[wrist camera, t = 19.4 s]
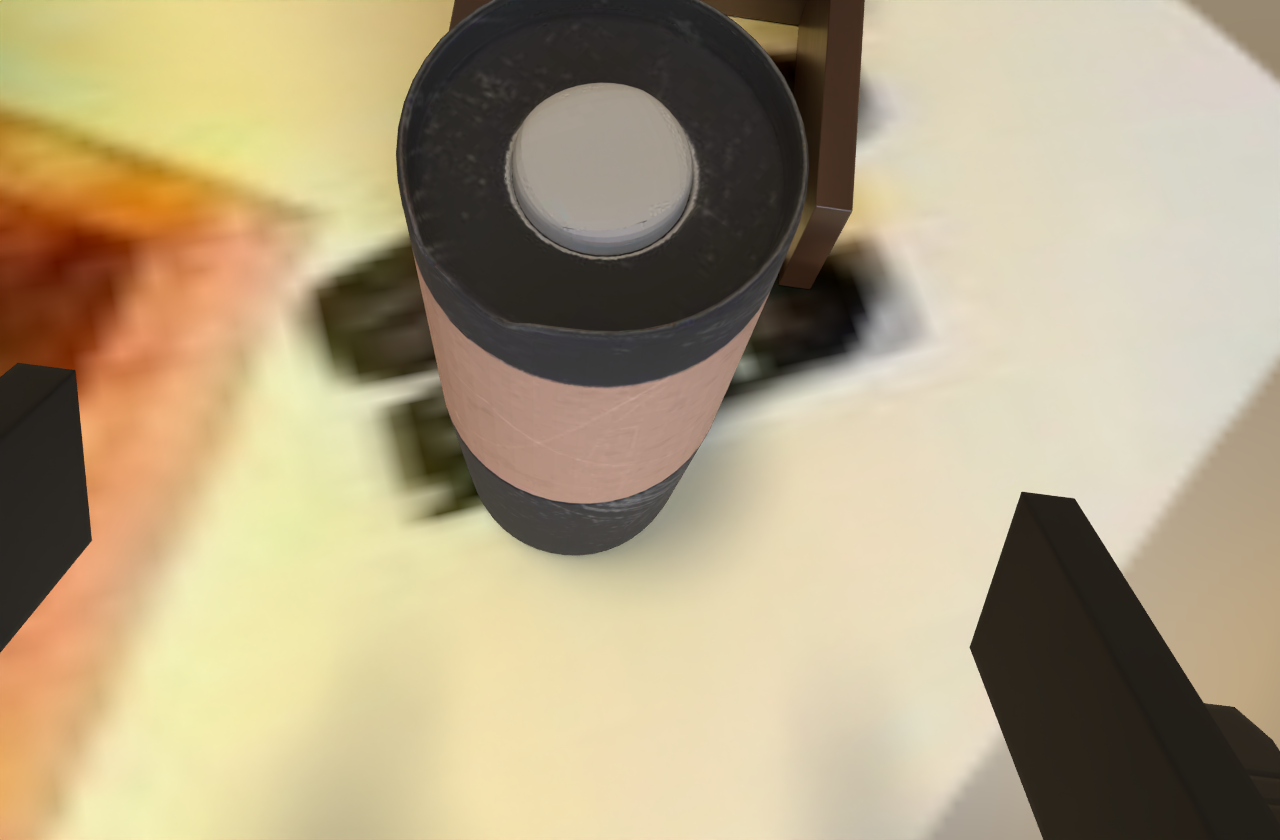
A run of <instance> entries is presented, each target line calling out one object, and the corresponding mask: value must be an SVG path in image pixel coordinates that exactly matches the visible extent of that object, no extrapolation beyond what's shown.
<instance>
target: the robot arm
mask: <svg viewBox="0 0 1280 840" xmlns="http://www.w3.org/2000/svg"><path fill="white" fill-rule="evenodd" d="M91 541H92V538H91V527H90V517H89V506H88V496H87V486H86V475H85V465H84V454H83V444H82V434H81V423H80V413H79V403H78V392H77V382H76V371H75V370H69V369H62V368H54V367H46V366H38V365H30V364H23V363H17V364H16V365H15V366H13V367H12V368H11V369H10V370H8V371H7V372H6V373H5V374H4V375H2V376H1V377H0V652H1V651H2V650H3V649H4V648H5V646H6V645H7V644H8V643H9V641H10V640H11V639H12V638H13V637H14V635H15V634H16V633H17V632H18V630H19V629H20V628H21V627H22V625H23V624H24V623H25V622H26V621H27V619H28V618H29V617H30V616H31V614H32V613H33V612H34V611H35V610H36V608H37V607H38V606H39V605H40V603H41V602H42V601H43V600H44V599H45V597H46V596H47V595H48V594H49V592H50V591H51V590H52V589H53V588H54V586H55V585H56V584H57V583H58V581H59V580H60V579H61V578H62V576H63V575H64V574H65V573H66V572H67V570H68V569H69V568H70V567H71V565H72V564H73V563H74V562H75V561H76V559H77V558H78V557H79V556H80V554H81V553H82V552H83V551H84V550H85V548H86V547H87V546H88V545H89V543H90V542H91ZM970 649H971V652H972V655H973V657H974V660H975V663H976V665H977V668H978V670H979V673H980V676H981V678H982V681H983V683H984V686H985V689H986V691H987V694H988V696H989V699H990V702H991V704H992V707H993V709H994V712H995V715H996V717H997V720H998V723H999V725H1000V728H1001V730H1002V733H1003V736H1004V738H1005V741H1006V743H1007V746H1008V749H1009V751H1010V754H1011V756H1012V759H1013V762H1014V764H1015V767H1016V770H1017V772H1018V775H1019V777H1020V780H1021V783H1022V785H1023V788H1024V790H1025V793H1026V796H1027V798H1028V801H1029V803H1030V806H1031V809H1032V811H1033V814H1034V817H1035V819H1036V821H1037V824H1038V827H1039V829H1040V832H1041V835H1042V837H1043V840H1280V751H1279V749H1278V748H1277V746H1276V745H1275V743H1274V742H1273V740H1272V739H1271V738H1270V737H1268V736H1267V735H1266V734H1265V733H1264V732H1263V731H1262V730H1260V729H1259V728H1258V727H1257V726H1256V725H1255V724H1253V723H1252V722H1251V721H1250V720H1249V719H1248V718H1246V717H1245V716H1244V715H1243V714H1242V713H1241V712H1240V711H1238V710H1237V709H1236V708H1235V707H1230V706H1222V705H1213V704H1205V703H1203V702H1202V700H1201V698H1200V697H1199V695H1198V694H1197V692H1196V691H1195V689H1194V687H1193V686H1192V684H1191V682H1190V681H1189V679H1188V678H1187V676H1186V674H1185V673H1184V671H1183V670H1182V668H1181V667H1180V665H1179V663H1178V662H1177V661H1176V659H1175V657H1174V655H1173V654H1172V652H1171V651H1170V649H1169V647H1168V646H1167V644H1166V643H1165V641H1164V640H1163V638H1162V636H1161V635H1160V633H1159V632H1158V630H1157V629H1156V627H1155V625H1154V624H1153V622H1152V621H1151V619H1150V617H1149V616H1148V614H1147V613H1146V611H1145V609H1144V608H1143V606H1142V605H1141V603H1140V601H1139V600H1138V598H1137V597H1136V595H1135V594H1134V592H1133V590H1132V589H1131V587H1130V586H1129V584H1128V582H1127V581H1126V579H1125V578H1124V576H1123V574H1122V573H1121V571H1120V570H1119V568H1118V567H1117V565H1116V563H1115V562H1114V560H1113V559H1112V557H1111V555H1110V554H1109V552H1108V551H1107V549H1106V547H1105V546H1104V544H1103V543H1102V541H1101V540H1100V538H1099V536H1098V535H1097V533H1096V532H1095V530H1094V528H1093V527H1092V525H1091V524H1090V522H1089V521H1088V519H1087V517H1086V516H1085V514H1084V513H1083V511H1082V509H1081V508H1080V506H1079V505H1078V503H1077V501H1076V500H1075V499H1074V498H1066V497H1058V496H1050V495H1043V494H1035V493H1027V492H1021V495H1020V498H1019V501H1018V504H1017V507H1016V510H1015V513H1014V516H1013V519H1012V522H1011V525H1010V528H1009V531H1008V534H1007V537H1006V540H1005V543H1004V546H1003V549H1002V552H1001V555H1000V558H999V561H998V564H997V567H996V570H995V573H994V576H993V579H992V582H991V585H990V588H989V591H988V594H987V597H986V600H985V603H984V606H983V609H982V612H981V615H980V618H979V621H978V624H977V627H976V630H975V633H974V636H973V639H972V642H971V645H970Z"/></svg>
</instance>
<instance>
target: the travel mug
mask: <svg viewBox="0 0 1280 840" xmlns="http://www.w3.org/2000/svg"><path fill="white" fill-rule="evenodd" d="M396 160H397V176H398V184H399V190H400V195H401V200H402V206H403V210H404V213H405V217H406V222H407V227H408V231H409V236H410V240H411V245H412V250H413V254H414V259H415V264H416V268H417V273H418V278H419V282H420V287H421V292H422V296H423V301H424V306H425V310H426V315H427V320H428V324H429V329H430V333H431V338H432V343H433V347H434V352H435V357H436V361H437V366H438V371H439V375H440V380H441V385H442V389H443V394H444V398H445V403H446V406H447V410H448V412H449V415H450V418H451V421H452V424H453V427H454V430H455V432H456V435H457V438H458V441H459V444H460V447H461V450H462V452H463V455H464V458H465V461H466V464H467V467H468V470H469V472H470V475H471V478H472V480H473V483H474V486H475V488H476V490H477V493H478V495H479V497H480V498H481V500H482V502H483V504H484V506H485V507H486V509H487V510H488V511H489V513H490V514H491V516H492V517H493V518H494V519H495V520H496V521H497V522H498V523H499V524H500V525H501V527H502V528H504V529H505V530H506V531H507V532H509V533H510V534H511V535H512V536H514V537H515V538H517V539H519V540H520V541H522V542H524V543H525V544H528V545H530V546H532V547H535V548H537V549H540V550H543V551H547V552H550V553H556V554H562V555H585V554H593V553H598V552H602V551H606V550H608V549H611V548H614V547H616V546H619V545H621V544H623V543H624V542H626V541H628V540H630V539H631V538H633V537H634V536H636V535H637V534H638V533H640V532H641V531H642V530H643V529H644V528H645V527H646V526H647V525H648V524H649V523H651V522H652V521H653V519H654V518H655V517H656V516H657V514H658V513H659V512H660V511H661V509H662V508H663V506H664V505H665V503H666V502H667V500H668V499H669V497H670V495H671V494H672V492H673V490H674V489H675V487H676V485H677V484H678V482H679V480H680V478H681V477H682V475H683V473H684V472H685V470H686V468H687V467H688V465H689V463H690V462H691V460H692V458H693V457H694V455H695V453H696V452H697V450H698V448H699V447H700V445H701V443H702V442H703V440H704V438H705V437H706V435H707V433H708V431H709V429H710V427H711V425H712V423H713V421H714V418H715V416H716V414H717V411H718V409H719V407H720V405H721V402H722V400H723V398H724V395H725V393H726V391H727V389H728V386H729V384H730V382H731V380H732V377H733V375H734V373H735V370H736V368H737V366H738V364H739V361H740V359H741V357H742V354H743V352H744V350H745V348H746V345H747V343H748V341H749V339H750V336H751V334H752V332H753V329H754V327H755V325H756V323H757V320H758V318H759V316H760V313H761V311H762V309H763V307H764V304H765V302H766V300H767V298H768V295H769V293H770V291H771V288H772V286H773V284H774V282H775V279H776V277H777V275H778V273H779V270H780V268H781V266H782V264H783V261H784V259H785V257H786V254H787V252H788V250H789V248H790V245H791V243H792V240H793V238H794V236H795V233H796V231H797V228H798V226H799V223H800V219H801V215H802V211H803V207H804V203H805V199H806V194H807V184H808V174H809V159H808V144H807V139H806V134H805V128H804V123H803V120H802V117H801V114H800V111H799V109H798V106H797V103H796V100H795V98H794V96H793V94H792V92H791V90H790V88H789V86H788V84H787V82H786V80H785V78H784V76H783V75H782V73H781V72H780V70H779V69H778V67H777V66H776V64H775V63H774V61H773V60H772V58H771V57H770V56H769V55H768V54H767V52H766V51H765V50H764V49H763V48H762V47H761V46H760V44H759V43H758V42H757V41H756V40H755V39H754V38H753V37H752V36H751V35H750V34H748V33H747V32H746V31H745V30H744V29H743V28H742V27H741V26H739V25H738V24H737V23H736V22H735V21H733V20H732V19H730V18H729V17H727V16H726V15H725V14H723V13H722V12H720V11H719V10H717V9H716V8H714V7H712V6H711V5H709V4H707V3H705V2H703V1H701V0H491V1H489V2H487V3H485V4H484V5H482V6H480V7H478V8H477V9H475V10H474V11H473V12H471V13H470V14H469V15H467V16H466V17H465V18H463V19H462V20H461V21H459V22H458V23H457V24H456V25H455V26H454V27H453V28H452V29H451V30H450V31H449V32H448V33H447V34H446V35H445V36H444V37H442V38H441V39H440V41H439V42H438V43H437V45H436V46H435V47H434V48H433V50H432V51H431V52H430V53H429V55H428V56H427V57H426V59H425V60H424V62H423V64H422V65H421V67H420V69H419V71H418V72H417V74H416V76H415V78H414V79H413V81H412V84H411V86H410V89H409V91H408V94H407V96H406V99H405V101H404V105H403V109H402V113H401V118H400V122H399V126H398V137H397V149H396Z"/></svg>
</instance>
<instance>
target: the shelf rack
mask: <svg viewBox="0 0 1280 840" xmlns="http://www.w3.org/2000/svg"><path fill="white" fill-rule="evenodd" d="M489 1H491V0H455V2H454V7H453V12H452V17H451V22H450V28H449V31H450V30H451V29H452V28H453V27H454V26H455V25H456V24H457V23H458V22H459V21H461V20H462V19H463V18H465V17H466V16H467V15H469V14H470V13H471V12H473V11H474V10H475V9H477V8H478V7H480V6H482V5H484V4H485V3H487V2H489ZM701 1H703V2H705V3H707V4H709V5H711V6H712V7H714V8H716V9H717V10H719V11H720V12H722V13H723V14H725V15H732V16H739V17H745V18H752V19H759V20H766V21H772V22H779V23H786V24H793V25H799V31H798V44H797V56H796V69H795V81H794V94H793V96H794V98H795V100H796V103H797V106H798V109H799V111H800V114H801V117H802V120H803V123H804V128H805V134H806V139H807V144H808V159H809V174H808V184H807V194H806V199H805V203H804V207H803V211H802V215H801V219H800V223H799V226H798V228H797V231H796V233H795V236H794V238H793V240H792V243H791V245H790V248H789V250H788V252H787V254H786V257H785V259H784V261H783V264H782V266H781V268H780V270H779V283H778V284H779V285H783V286H790V287H798V288H805V289H810V288H811V286H812V284H813V283H814V281H815V279H816V277H817V275H818V273H819V272H820V270H821V268H822V266H823V264H824V262H825V260H826V259H827V257H828V255H829V253H830V251H831V249H832V248H833V246H834V244H835V242H836V240H837V238H838V236H839V235H840V233H841V231H842V229H843V227H844V225H845V224H846V222H847V220H848V218H849V216H850V214H851V212H852V208H853V191H854V174H855V157H856V140H857V122H858V105H859V88H860V71H861V54H862V37H863V20H864V2H865V0H701Z"/></svg>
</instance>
